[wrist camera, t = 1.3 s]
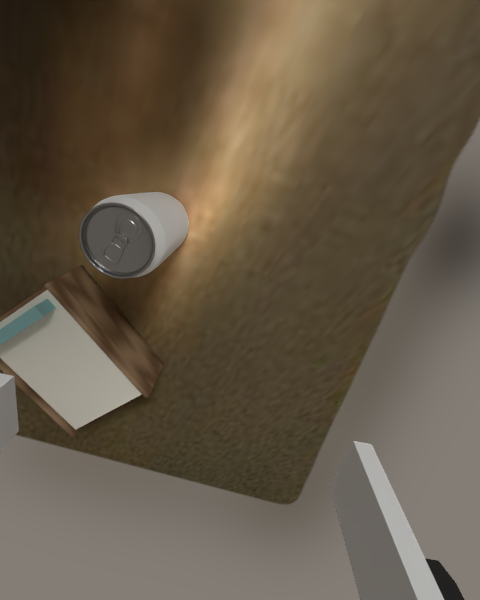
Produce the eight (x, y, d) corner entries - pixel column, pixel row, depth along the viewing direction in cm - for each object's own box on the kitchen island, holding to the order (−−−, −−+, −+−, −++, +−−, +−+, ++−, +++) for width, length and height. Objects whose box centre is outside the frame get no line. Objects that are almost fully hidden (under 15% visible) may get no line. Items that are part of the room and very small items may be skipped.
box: (12, 313, 38) (-33, 338, 31) (82, 265, 35) (47, 282, 29) (97, 400, 42) (72, 436, 36) (163, 363, 40) (149, 396, 34)
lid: (-13, 331, 33) (-39, 346, 30) (54, 285, 31) (34, 296, 28) (80, 422, 37) (66, 443, 34) (145, 387, 35) (135, 406, 32)
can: (201, 217, 33) (177, 235, 22) (169, 262, 35) (132, 299, 23) (151, 178, 31) (99, 175, 20) (121, 227, 33) (57, 249, 22)
